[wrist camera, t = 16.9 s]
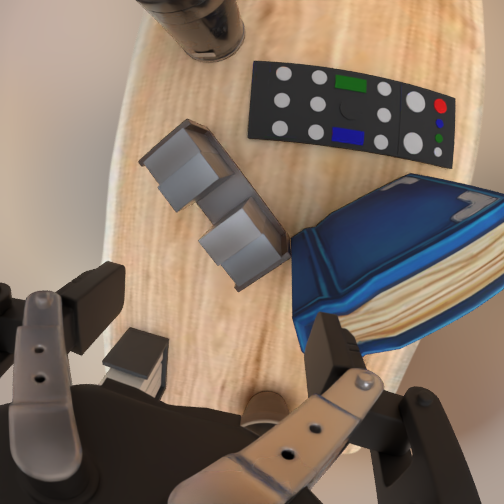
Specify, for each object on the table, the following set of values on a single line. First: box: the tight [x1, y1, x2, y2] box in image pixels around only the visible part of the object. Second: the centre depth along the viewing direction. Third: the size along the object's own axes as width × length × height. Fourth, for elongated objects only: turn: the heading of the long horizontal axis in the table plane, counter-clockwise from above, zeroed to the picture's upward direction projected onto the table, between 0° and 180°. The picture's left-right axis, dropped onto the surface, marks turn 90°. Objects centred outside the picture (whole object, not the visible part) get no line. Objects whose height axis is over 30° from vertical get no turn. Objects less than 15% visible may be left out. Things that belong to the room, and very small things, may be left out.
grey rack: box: [138, 119, 292, 292], centre depth 38 cm, size 19×8×12 cm, turn 37°
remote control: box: [248, 61, 455, 169], centre depth 37 cm, size 11×30×2 cm, turn 86°
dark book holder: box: [102, 328, 169, 400], centre depth 46 cm, size 12×8×15 cm, turn 169°
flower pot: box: [240, 392, 290, 436], centre depth 49 cm, size 12×11×10 cm
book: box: [291, 173, 504, 357], centre depth 31 cm, size 22×7×25 cm, turn 119°
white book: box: [98, 353, 163, 392], centre depth 45 cm, size 3×6×14 cm, turn 79°
